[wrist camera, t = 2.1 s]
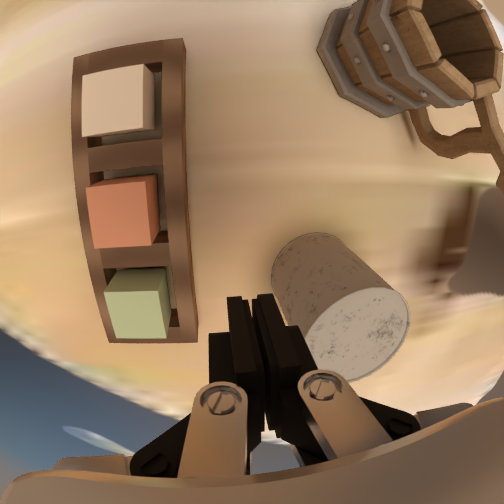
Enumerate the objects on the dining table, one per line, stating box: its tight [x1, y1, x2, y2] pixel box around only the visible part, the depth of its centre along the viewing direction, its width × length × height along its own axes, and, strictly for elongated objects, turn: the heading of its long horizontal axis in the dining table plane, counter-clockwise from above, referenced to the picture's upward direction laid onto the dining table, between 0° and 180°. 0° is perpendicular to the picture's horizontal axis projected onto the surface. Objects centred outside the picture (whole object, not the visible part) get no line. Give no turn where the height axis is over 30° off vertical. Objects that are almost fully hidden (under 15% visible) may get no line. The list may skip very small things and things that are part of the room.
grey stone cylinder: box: [271, 233, 410, 383], centre depth 26 cm, size 10×10×12 cm
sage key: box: [104, 268, 171, 338], centre depth 26 cm, size 5×5×4 cm
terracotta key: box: [86, 174, 161, 249], centre depth 23 cm, size 5×5×4 cm
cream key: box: [82, 64, 155, 137], centre depth 19 cm, size 5×5×4 cm
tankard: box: [317, 0, 504, 194], centre depth 18 cm, size 20×13×15 cm, turn 26°
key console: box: [71, 38, 198, 343], centre depth 25 cm, size 29×10×4 cm, turn 0°
